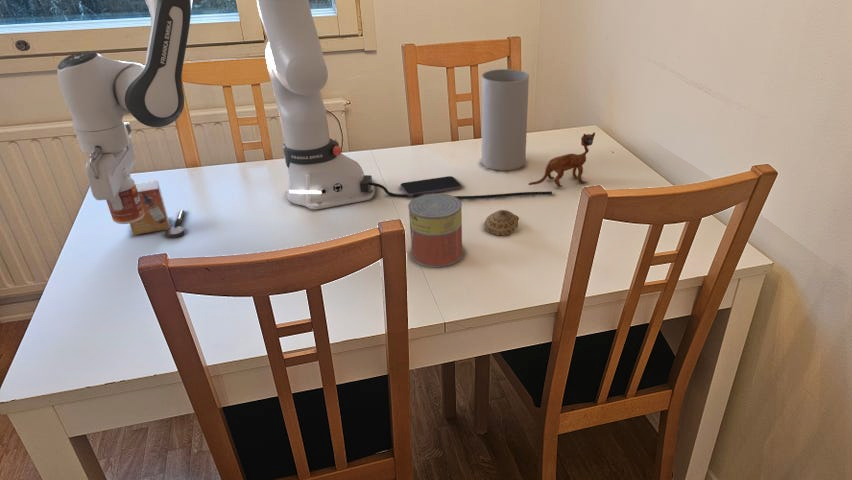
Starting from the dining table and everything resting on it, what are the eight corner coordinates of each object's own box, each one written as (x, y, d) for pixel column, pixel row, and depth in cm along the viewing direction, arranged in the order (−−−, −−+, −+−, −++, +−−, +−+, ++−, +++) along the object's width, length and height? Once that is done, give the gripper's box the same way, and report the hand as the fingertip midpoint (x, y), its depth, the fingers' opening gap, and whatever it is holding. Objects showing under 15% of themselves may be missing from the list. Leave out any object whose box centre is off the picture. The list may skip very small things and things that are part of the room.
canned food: (414, 240, 147) (411, 193, 141) (464, 241, 147) (463, 193, 141) (408, 266, 138) (405, 216, 131) (461, 267, 137) (460, 217, 131)
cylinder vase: (526, 172, 180) (530, 82, 167) (481, 171, 180) (481, 82, 167) (524, 154, 190) (527, 69, 177) (482, 154, 191) (482, 69, 177)
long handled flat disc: (174, 213, 159) (173, 209, 158) (191, 211, 160) (190, 208, 159) (164, 238, 148) (163, 235, 148) (183, 237, 149) (182, 233, 148)
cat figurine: (533, 193, 168) (535, 143, 161) (523, 183, 173) (525, 134, 166) (594, 183, 173) (599, 135, 166) (583, 174, 178) (587, 126, 171)
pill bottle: (147, 220, 137) (132, 172, 132) (115, 227, 135) (99, 179, 129) (142, 209, 142) (127, 162, 136) (111, 216, 139) (95, 168, 133)
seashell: (524, 211, 155) (516, 213, 147) (520, 234, 156) (512, 237, 148) (491, 206, 157) (482, 208, 149) (488, 229, 158) (479, 232, 150)
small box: (133, 236, 149) (119, 194, 144) (132, 225, 153) (119, 185, 148) (170, 229, 152) (158, 188, 146) (169, 219, 156) (157, 179, 151)
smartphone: (462, 186, 170) (408, 194, 165) (462, 189, 171) (408, 198, 166) (452, 175, 176) (399, 183, 171) (452, 179, 177) (399, 187, 171)
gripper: (107, 156, 121) (128, 221, 128) (131, 120, 138) (149, 180, 145) (70, 159, 119) (93, 225, 127) (99, 122, 136) (119, 182, 144)
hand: (123, 200), depth 136 cm, fingers closed on pill bottle, 6 cm apart
